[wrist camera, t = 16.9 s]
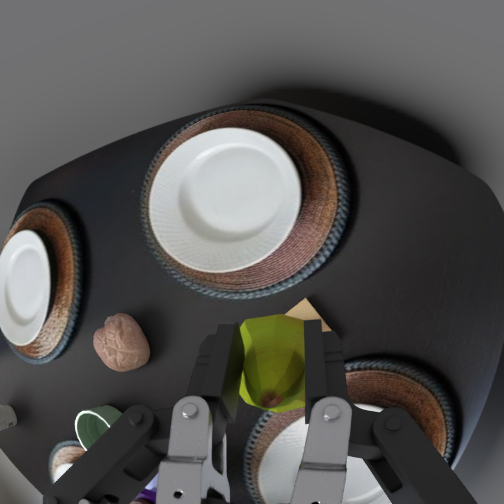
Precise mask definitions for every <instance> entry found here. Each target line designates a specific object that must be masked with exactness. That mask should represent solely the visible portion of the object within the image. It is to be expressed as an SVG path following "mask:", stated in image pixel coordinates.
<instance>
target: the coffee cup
mask: <svg viewBox="0 0 504 504" xmlns="http://www.w3.org/2000/svg"><path fill="white" fill-rule="evenodd" d="M16 424H17V418H16V415H15V412H14V410H13V408H12V407H11V406H9V405H0V430H3V429H6V428H8V427H11V426H13V425H16Z"/></svg>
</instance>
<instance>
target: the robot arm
mask: <svg viewBox="0 0 504 504" xmlns="http://www.w3.org/2000/svg"><path fill="white" fill-rule="evenodd" d="M304 351H305V424H309V427H308V432H307V438H306V443H305V447H304V452H303V457H302V461H301V464H300V467H299V470H298V474H297V478H296V482H295V486H294V490H293V494H292V498H291V502H290V504H341V503H342V498H343V492H344V486H345V480H346V472H347V468H346V462H347V456H352V457H357V458H362V459H363V460H364V462H365V463H366V465H367V466H368V468H369V469H370V471H371V472H372V474H373V475H374V477H375V478H376V480H377V481H378V483H379V484H380V486H381V488H382V489H383V491H384V492H385V494H386V495H387V497H388V498H389V500H390V501H391V503H392V504H477V502H476V501H475V500H474V498H473V497H472V495H471V494H470V493H469V491H468V490H467V489H466V487H465V486H464V485H463V483H462V482H461V481H460V479H459V478H458V477H457V475H456V474H455V473H454V471H453V470H452V469H451V468H450V466H449V465H448V464H447V462H446V461H445V460H444V458H443V457H442V456H441V454H440V453H439V452H438V451H437V449H436V448H435V447H434V445H433V444H432V443H431V442H430V440H429V439H428V438H427V436H426V435H425V434H424V433H423V431H422V430H421V429H420V427H419V426H418V425H417V424H416V422H415V421H414V420H413V419H412V417H411V416H410V415H409V414H408V413H407V412H406V411H405V410H403V409H401V408H397V407H391V408H387V409H384V410H382V411H381V412H374V411H368V410H363V409H360V408H358V407H357V406H355V405H354V404H353V403H352V402H351V401H350V399H349V397H348V393H347V384H346V375H345V367H344V359H343V353H342V344H341V339H340V338H339V337H338V335H337V334H336V332H335V331H325V332H322V322H321V319H313V320H304ZM244 359H245V347H244V343H243V339H242V335H241V332H240V328H239V325H238V323H220V324H219V326H218V330H217V333H216V335H208V336H207V337H206V339H205V340H204V341H203V342H202V344H201V346H200V349H199V353H198V356H197V359H196V365H195V366H194V370H193V373H192V376H191V380H190V383H189V387H188V390H187V394H186V396H185V398H182V399H181V400H179V401H178V402H177V403H176V405H175V406H174V407H171V408H167V409H161V410H155V411H152V410H151V409H150V408H149V407H147V406H145V405H141V404H138V405H133V406H131V407H129V408H128V409H127V410H126V411H125V412H124V413H123V414H122V415H121V416H120V417H119V418H118V419H117V420H116V421H115V422H114V423H113V424H112V425H111V426H110V427H109V428H108V429H107V431H106V432H105V433H104V434H103V435H102V436H101V437H100V438H99V439H98V440H97V441H96V442H95V443H94V444H93V445H92V446H91V447H90V448H89V449H88V450H87V451H86V452H85V453H84V454H83V455H82V456H81V457H80V458H79V459H78V460H77V461H76V462H75V463H74V464H73V465H72V466H71V467H70V468H69V469H68V470H67V471H66V472H65V473H64V474H63V475H62V476H61V477H60V478H59V479H58V480H57V481H56V482H55V483H54V484H53V485H52V486H51V487H50V488H49V489H48V490H47V491H46V492H45V494H44V496H43V504H130V503H131V502H132V501H133V500H134V499H135V498H136V497H137V496H138V495H139V494H140V493H141V492H142V490H143V489H144V488H145V487H146V486H147V485H148V484H149V483H150V482H151V481H152V480H153V478H154V477H155V476H156V475H157V474H158V482H157V493H156V504H232V503H230V488H229V483H228V480H227V475H226V434H225V429H226V424H227V423H234V422H235V416H236V410H237V404H238V397H239V391H240V385H241V379H242V372H243V363H244ZM181 495H182V497H181ZM180 497H181V498H180Z"/></svg>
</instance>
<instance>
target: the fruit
mask: <svg viewBox="0 0 504 504" xmlns="http://www.w3.org/2000/svg"><path fill="white" fill-rule="evenodd" d="M240 332H241V335H242V339H243V343H244V347H245V359H244V363H243V372H242V379H241V385H240V391H239V394H240V395H241V396H242V398H243V399H244V400H245V402H246V403H248V404H251V405H254V406H257V407H259V408H261V409H263V410H269V411H273V412H276V413H281V412H285V411H288V410H293V409H297V408H301V407H305V351H304V320H302V319H298V318H294V317H291V316H287V315H283V314H277V315H271V316H265V317H259V318H252V319H246V320H245V321H244V323H243V324H242V326H241V327H240Z"/></svg>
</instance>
